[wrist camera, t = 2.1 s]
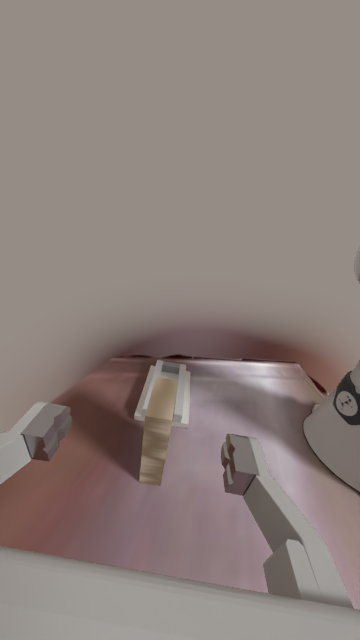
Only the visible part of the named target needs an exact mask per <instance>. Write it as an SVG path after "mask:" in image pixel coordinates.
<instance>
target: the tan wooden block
mask: <svg viewBox="0 0 360 640" xmlns="http://www.w3.org/2000/svg"><path fill="white" fill-rule="evenodd" d="M176 388H177V380H172V379H166V378H160V377H156V378H155V382H154V385H153V389H152V392H151V396H150V400H149V403H148V407H147V410H146V414H145V421H144V433H143V444H142V456H141V467H140V479H139V482H142V483H147V484H153V485H159V486H160V484H161V479H162V474H163V468H164V463H165V457H166V452H167V447H168V441H169V436H170V431H171V425H172V419H173V412H174V404H175V396H176Z"/></svg>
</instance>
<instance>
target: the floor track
mask: <svg viewBox="0 0 360 640" xmlns="http://www.w3.org/2000/svg"><path fill="white" fill-rule="evenodd" d="M190 374H191V372H188V371H186V365H185V364H179V363H173V362H167V361H161V360H157V363H156V366H152V365H151V367H150V370H149V373H148V376H147V379H146V382H145V385H144V388H143V391H142V394H141V397H140V400H139V403H138V406H137V409H136V412H135V415H134V420H140V421H145V414H146V410H147V407H148V403H149V400H150V396H151V392H152V389H153V385H154V382H155V378H156V377H160V378H166V379H172V380H177V388H176V396H175V404H174V412H173V419H172V425H171V426H176V427H182V428H188V424H189V399H190Z"/></svg>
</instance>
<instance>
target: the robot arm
mask: <svg viewBox="0 0 360 640" xmlns="http://www.w3.org/2000/svg"><path fill="white" fill-rule="evenodd" d="M354 272H355V275H356V278H357V280H358V282H359V283H360V248H359V249H358V251H357V254H356V257H355V260H354ZM70 412H71V410H70V407H68V406H63V405H57V404H52V403H47V402H41V401H39V402H37V403H35V404H34V405H33V406H32V407H31V409H29V410H28V412H27V413H26V414H25V415H24V416H23V417H22V418H21V419H20V420H19V421H18V422H17V423H16V424H15V425H14V426H13V427H12V428H11V429H10V430H9V431H8V432H3V433H1V434H0V484H1V483H3V482H4V481H5V480H6V479H8V478H9V477H10V476H12V475H13V474H14V473H15V472H17V471H18V470H19V469H21V468H22V467H23V466H24V465H26V464H27V463H28V462H30V461H31V459H35V460H43V461H50V460H51V458H52V457H53V455H54V454H55V452H56V451H57V449H58V448H59V441H60V440H62V439H63V438H65V437H66V435H67V434H68V432H69V430H70V427H71V425H72V417H71V416H70V415H69V413H70ZM303 428H304V433H305V436H306V438H307V441H308V443H309V444H310V446H311V448H312V449H313V451H314V452H315V453H316V455H317V456H318V457H319V458H320V459H321V461H322V462H323V463H324V464H325V465H326V466H327V467H328V468H329V469H330V470H331V471H332V472H333V473H335V474H336V475H337V476H338V477H339V478H341V479H342V480H343V481H344V482H346V483H347V484H349V485H350V486H352V487H353V488H355V489H356V490H358V491H359V492H360V361H359V362H358V364H357V365H356V367H355V368H354V369H353V371H350V372H348V373H347V374H346V375H345V377H343V378H342V379H341V382H340V383H339V385H338V386H337V387H336V388H335V389H334V390H333V391H332V392H331V393H330V394H329V395H328V396H327V397H326V398H325V399H324V400H323V402H322V403H321V404H316V405H315V406H314V407H313V409H312V414H311V415H309V416H308V417H307V418H306V419H305V421H304V425H303ZM221 461H222V465H223V467H224V468H225V472H224V474H223V478H224V487H225V492H227V493H232V494H237V495H242V496H243V498H244V500H245V502H246V503H247V505H248V507H249V509H250V511H251V513H252V515H253V516H254V518H255V520H256V522H257V524H258V526H259V527H260V529H261V531H262V533H263V535H264V537H265V538H266V540H267V542H268V544H269V546H270V548H271V550H272V551H273V554H272V555H271V556H270V557H269V558H268V559H267V560H266V561H265V562H264V564H263V567H264V572H265V577H266V582H267V587H268V592H269V594H268V593H262V592H256V591H251V590H245V589H240V588H234V587H228V586H223V585H217V584H211V583H206V582H200V581H195V580H189V579H183V578H178V577H172V576H167V575H161V574H155V573H150V572H144V571H139V570H133V569H127V568H122V567H116V566H110V565H105V564H99V563H94V562H88V561H82V560H77V559H71V558H66V557H60V556H54V555H49V554H43V553H37V552H32V551H26V550H21V549H15V548H9V547H4V546H0V640H360V610H357V609H354V608H353V606H352V604H351V601H350V599H349V597H348V594H347V592H346V589H345V587H344V585H343V582H342V580H341V578H340V575H339V573H338V570H337V568H336V566H335V563H334V561H333V558H332V556H331V554H330V551H329V549H328V547H327V545H326V543H325V542H324V541H323V540H322V538H321V537H320V536H319V534H318V533H317V532H316V531H315V529H314V528H313V527H312V526H311V524H310V523H309V522H308V520H307V519H306V518H305V517H304V515H303V514H302V513H301V512H300V510H299V509H298V508H297V506H296V505H295V504H294V503H293V501H292V500H291V499H290V498H289V496H288V495H287V494H286V493H285V491H284V490H283V489H282V487H281V486H280V485H279V484H278V482H277V481H276V480H275V479H274V478H271V475H270V472H269V469H268V466H267V463H266V460H265V456H264V453H263V450H262V447H261V444H260V441H259V440H258V439H257V438H251V437H247V436H240V435H234V434H227V435H226V442H225V443H223V445H222V450H221Z"/></svg>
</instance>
